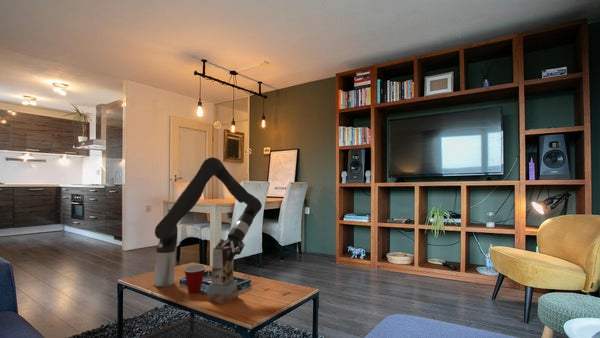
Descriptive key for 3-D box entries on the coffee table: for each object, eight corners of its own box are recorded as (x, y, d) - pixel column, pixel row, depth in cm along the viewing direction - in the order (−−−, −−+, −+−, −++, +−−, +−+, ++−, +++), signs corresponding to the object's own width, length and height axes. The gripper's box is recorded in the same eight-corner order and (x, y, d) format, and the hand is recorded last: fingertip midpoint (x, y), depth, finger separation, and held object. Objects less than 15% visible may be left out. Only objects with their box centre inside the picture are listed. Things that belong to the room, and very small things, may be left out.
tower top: (208, 293, 143) (209, 284, 144) (218, 287, 153) (219, 278, 153) (227, 295, 141) (228, 286, 141) (236, 289, 150) (237, 280, 151)
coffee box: (223, 285, 142) (224, 249, 143) (211, 284, 144) (212, 248, 145) (233, 280, 151) (234, 246, 152) (221, 278, 153) (222, 245, 154)
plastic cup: (177, 293, 153) (178, 268, 154) (191, 287, 163) (192, 263, 164) (196, 296, 150) (197, 270, 150) (209, 289, 160) (210, 265, 161)
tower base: (206, 301, 145) (207, 292, 145) (221, 294, 154) (221, 286, 154) (223, 305, 140) (224, 296, 140) (238, 298, 149) (238, 289, 149)
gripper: (224, 226, 159) (206, 253, 148) (246, 228, 152) (230, 256, 142) (231, 235, 164) (214, 262, 153) (253, 238, 157) (237, 266, 146)
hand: (222, 259), depth 147 cm, fingers open, 8 cm apart
